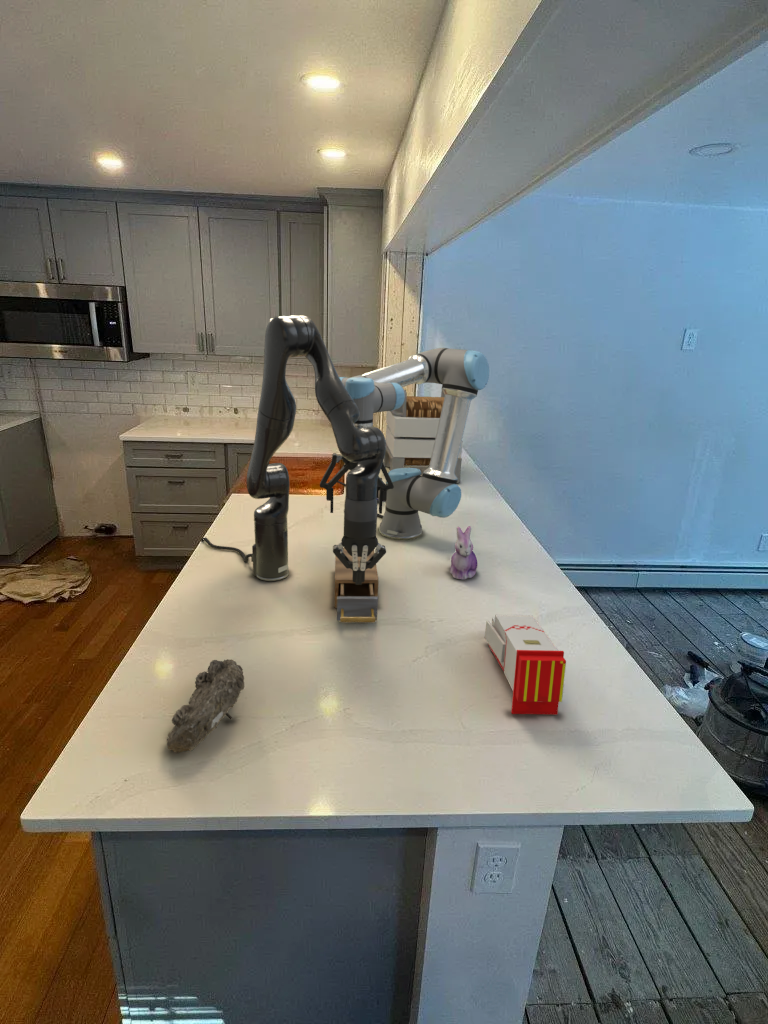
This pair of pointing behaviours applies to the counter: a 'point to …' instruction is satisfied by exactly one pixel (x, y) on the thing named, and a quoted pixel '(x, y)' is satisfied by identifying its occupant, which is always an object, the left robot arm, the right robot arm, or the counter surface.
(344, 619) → the drawer
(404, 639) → the counter surface
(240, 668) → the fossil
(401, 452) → the white crate
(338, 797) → the counter surface
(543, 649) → the toy
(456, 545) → the figurine
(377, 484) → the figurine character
